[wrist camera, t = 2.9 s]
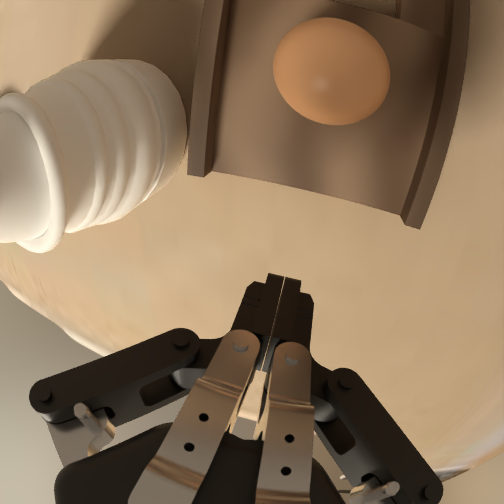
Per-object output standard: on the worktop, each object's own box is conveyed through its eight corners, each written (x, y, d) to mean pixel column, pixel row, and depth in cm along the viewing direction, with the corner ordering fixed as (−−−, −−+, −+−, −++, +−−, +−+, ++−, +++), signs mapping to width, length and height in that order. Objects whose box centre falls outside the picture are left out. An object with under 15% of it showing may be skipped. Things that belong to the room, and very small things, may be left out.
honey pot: (220, 136, 20) (-5, 291, 5) (128, 223, 26) (-5, 356, 11) (125, 31, 16) (-89, 52, 1) (57, 132, 22) (-90, 211, 7)
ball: (384, 45, 12) (412, 25, 7) (368, 130, 16) (389, 149, 11) (288, 23, 13) (271, -6, 8) (275, 109, 16) (253, 117, 11)
